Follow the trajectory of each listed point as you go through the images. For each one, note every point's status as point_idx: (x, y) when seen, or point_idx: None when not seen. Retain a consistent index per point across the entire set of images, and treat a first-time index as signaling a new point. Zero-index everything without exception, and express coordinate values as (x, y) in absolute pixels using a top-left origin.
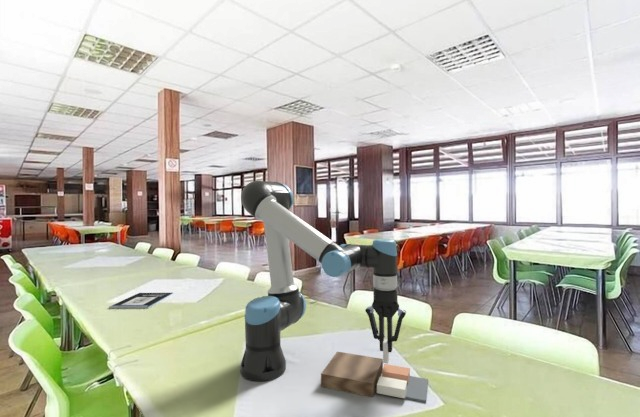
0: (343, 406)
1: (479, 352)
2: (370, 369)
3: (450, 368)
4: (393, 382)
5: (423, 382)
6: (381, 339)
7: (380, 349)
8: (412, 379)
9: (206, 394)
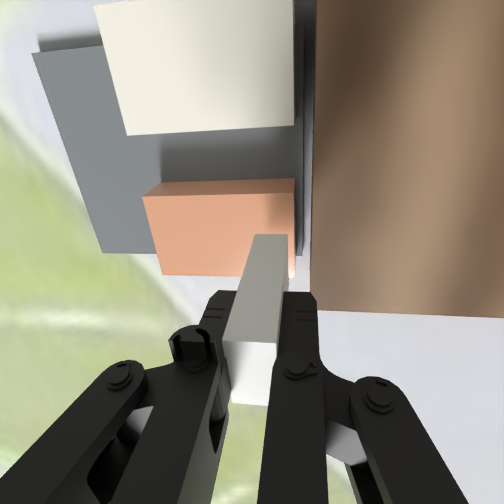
0: None
1: None
2: (371, 156)
3: (77, 348)
4: (190, 77)
5: (107, 219)
6: (291, 371)
7: (309, 300)
8: None
9: None
